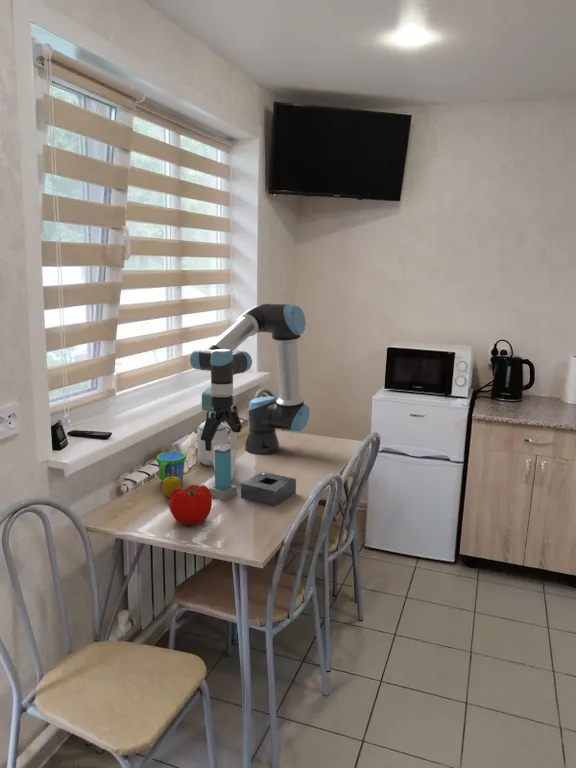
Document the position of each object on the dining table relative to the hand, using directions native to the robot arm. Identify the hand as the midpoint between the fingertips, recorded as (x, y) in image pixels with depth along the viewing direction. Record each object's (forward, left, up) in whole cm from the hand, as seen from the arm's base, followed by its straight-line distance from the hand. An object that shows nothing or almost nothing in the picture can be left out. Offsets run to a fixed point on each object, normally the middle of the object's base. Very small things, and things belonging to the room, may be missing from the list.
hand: (222, 454), depth 211 cm
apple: (+11, -14, -15) cm, 23 cm away
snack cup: (0, -24, -15) cm, 28 cm away
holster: (0, 0, -15) cm, 15 cm away
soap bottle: (-26, -25, -15) cm, 39 cm away
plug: (0, 0, -15) cm, 15 cm away
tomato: (+23, +5, -15) cm, 28 cm away
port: (-8, +14, -15) cm, 22 cm away
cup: (-14, -10, -15) cm, 23 cm away
